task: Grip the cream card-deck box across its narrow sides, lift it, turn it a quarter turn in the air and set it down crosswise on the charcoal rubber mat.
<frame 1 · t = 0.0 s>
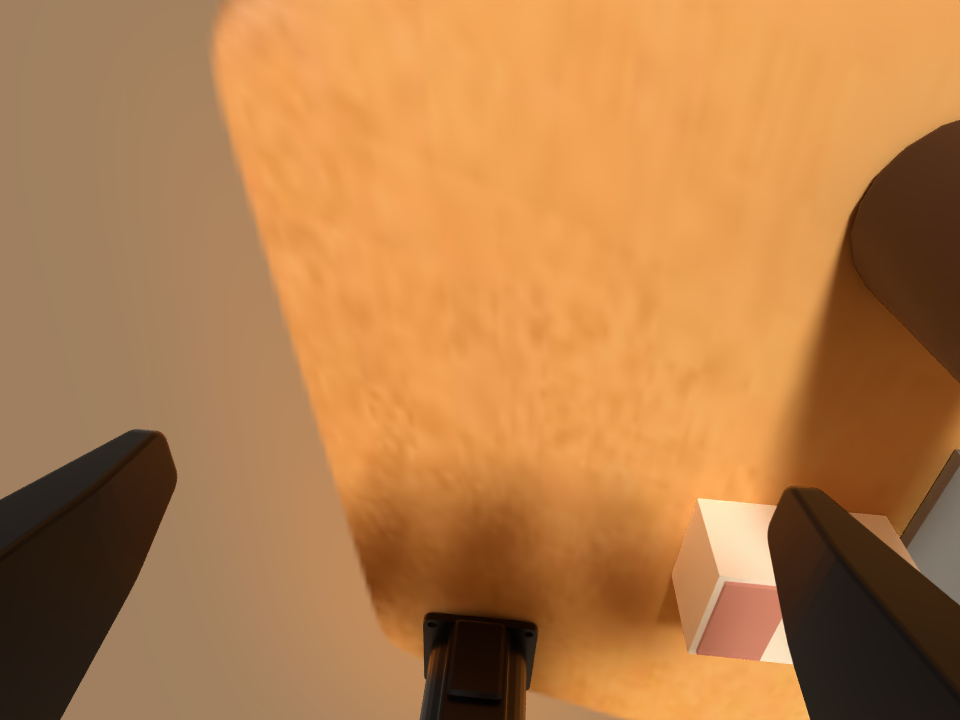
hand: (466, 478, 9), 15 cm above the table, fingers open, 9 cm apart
bottle: (952, 212, 21), on the table
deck: (771, 543, 30), on the table
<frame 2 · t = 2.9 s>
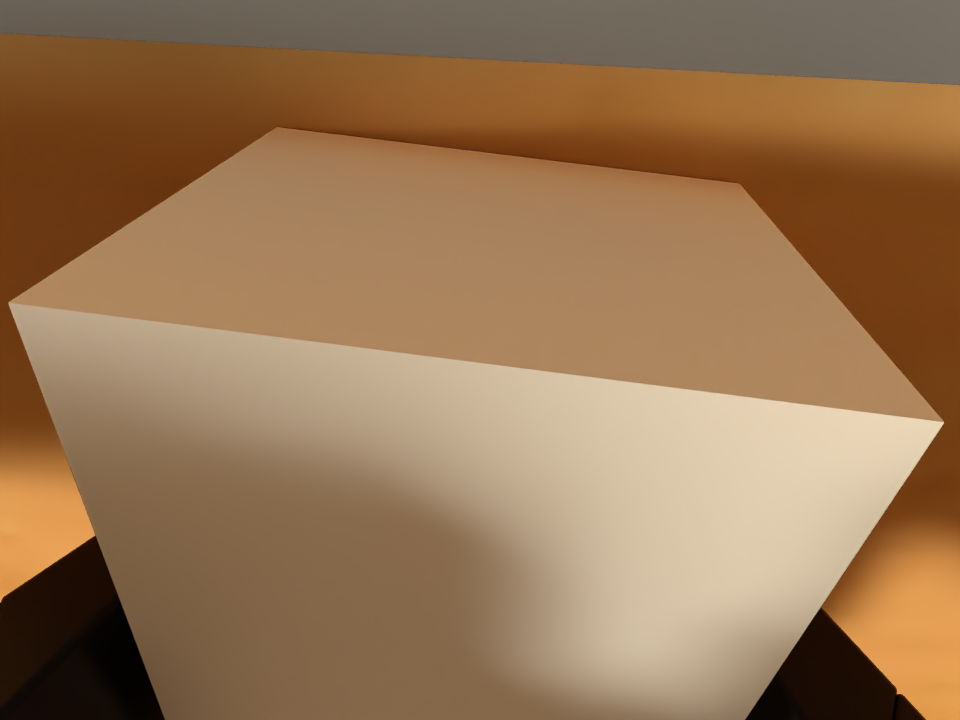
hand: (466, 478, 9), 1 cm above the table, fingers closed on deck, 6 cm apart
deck: (474, 428, 10), on the table, touching gripper
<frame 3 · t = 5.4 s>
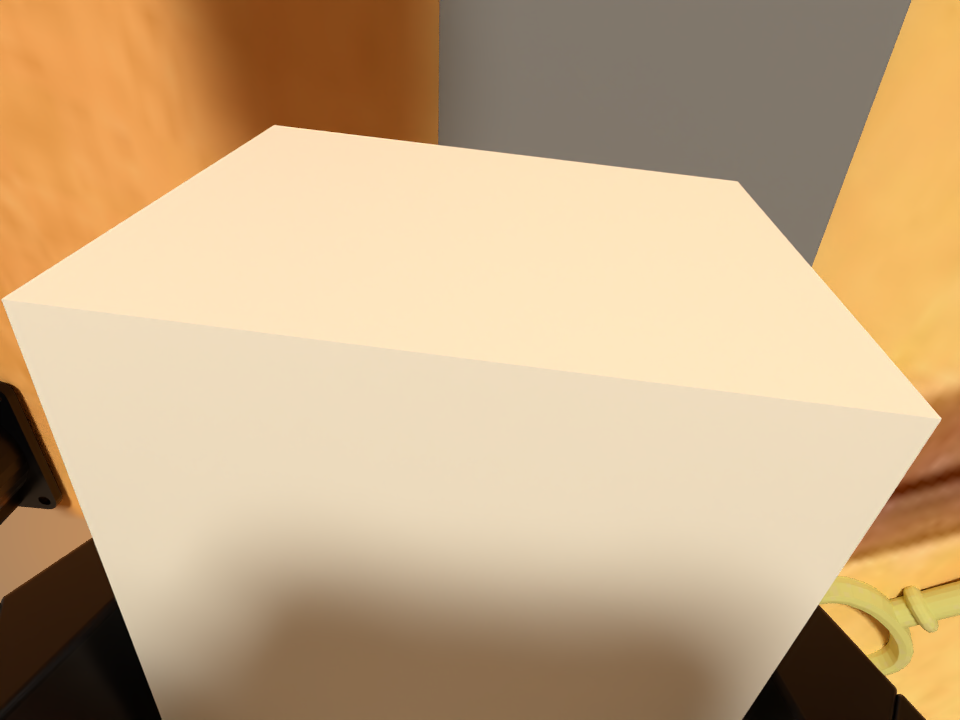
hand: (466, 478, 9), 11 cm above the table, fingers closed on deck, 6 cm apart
key: (904, 583, 27), on the table
mat: (623, 225, 18), on the table
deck: (472, 427, 10), point 10 cm above the table, touching gripper
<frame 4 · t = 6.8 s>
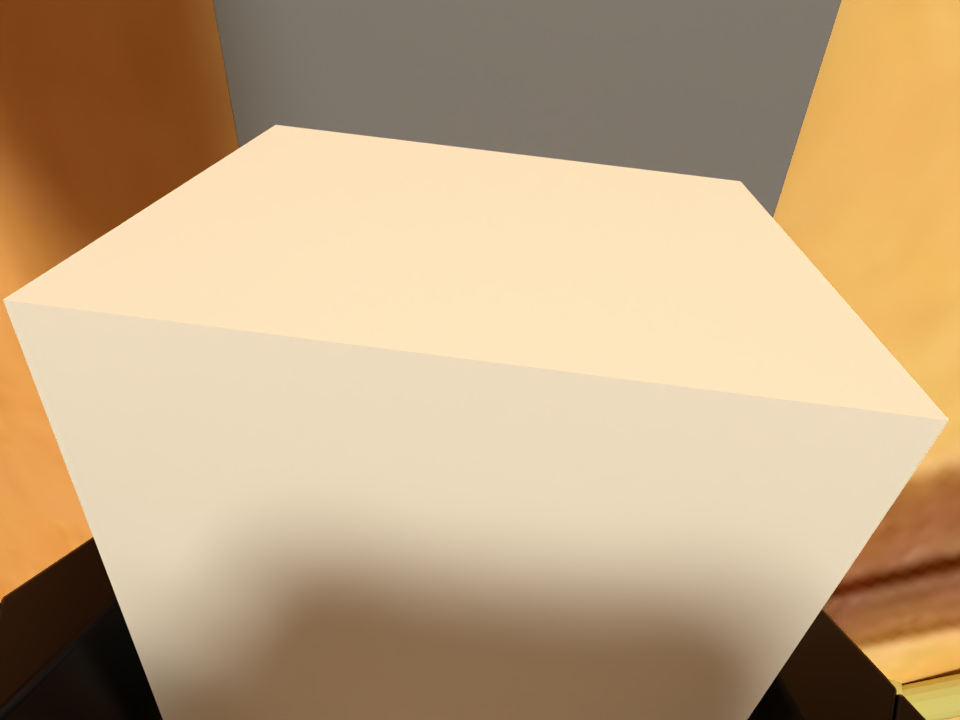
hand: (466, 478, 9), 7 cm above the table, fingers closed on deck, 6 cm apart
key: (884, 672, 23), on the table
mat: (499, 277, 14), on the table
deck: (474, 427, 10), point 6 cm above the table, touching gripper
when the fingers open (3 cm above the table, at t = 8.1 s): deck drops 1 cm, resting on mat.
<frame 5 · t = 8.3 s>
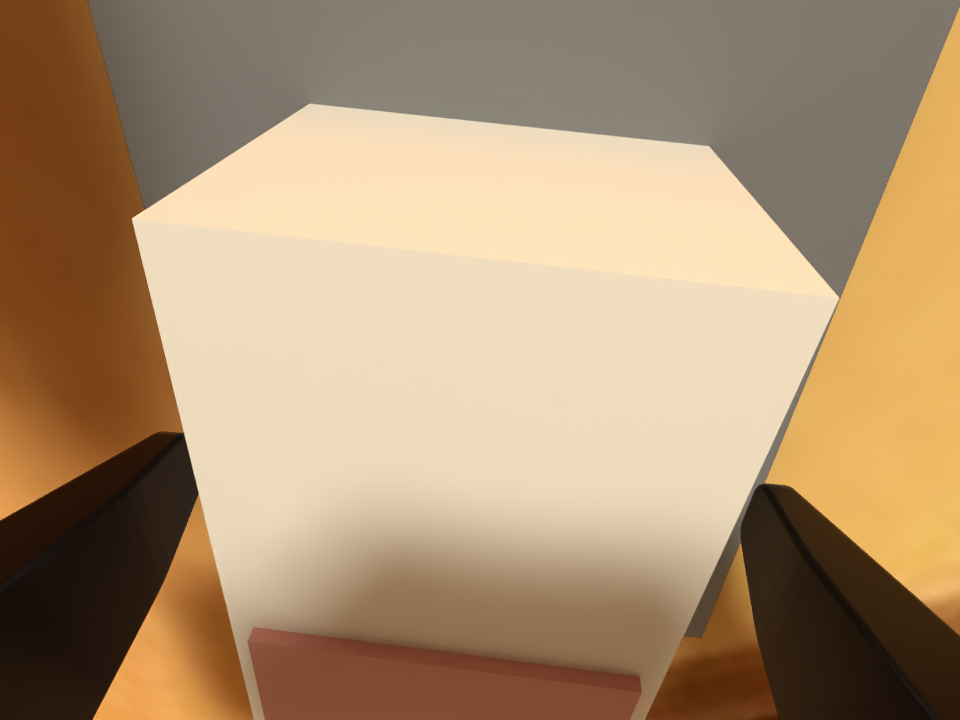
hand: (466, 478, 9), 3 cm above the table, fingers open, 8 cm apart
mat: (485, 361, 12), on the table
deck: (481, 375, 11), point 1 cm above the table, touching mat
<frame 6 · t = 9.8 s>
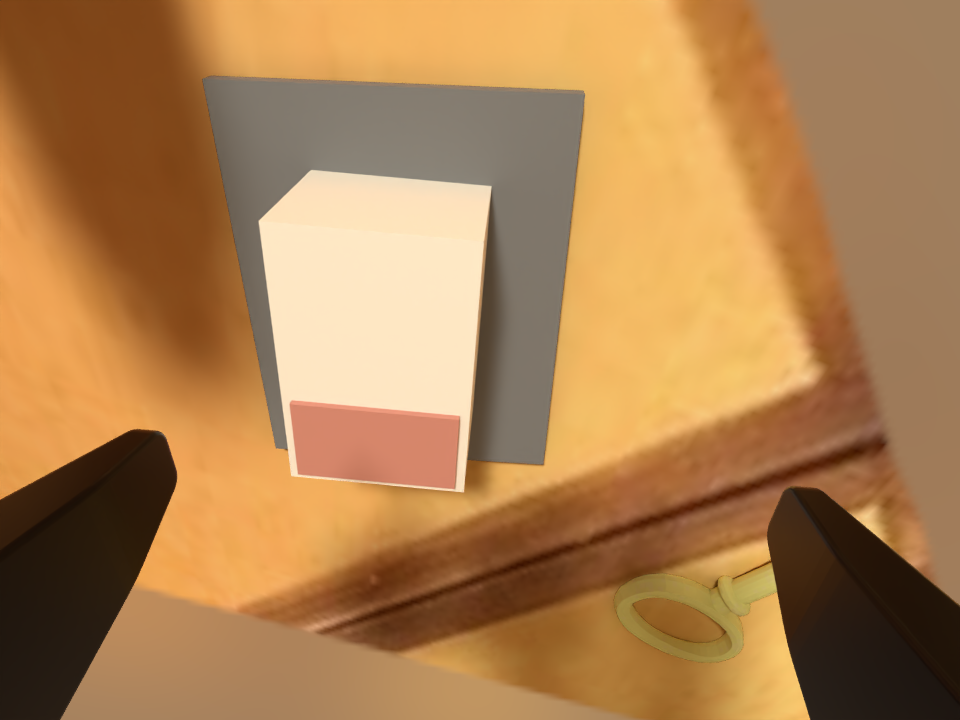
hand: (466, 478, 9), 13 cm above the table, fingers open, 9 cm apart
key: (725, 573, 30), on the table
mat: (404, 296, 22), on the table
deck: (400, 301, 21), point 1 cm above the table, touching mat
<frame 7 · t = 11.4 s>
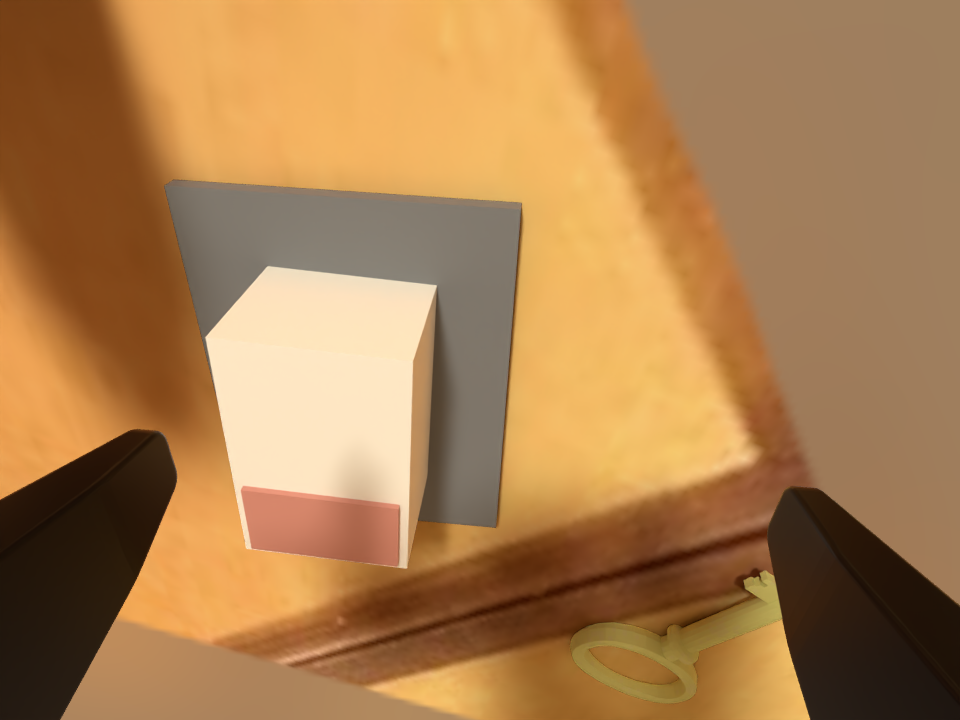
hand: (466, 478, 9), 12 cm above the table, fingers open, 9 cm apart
key: (676, 620, 31), on the table
mat: (360, 374, 23), on the table
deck: (355, 381, 22), point 1 cm above the table, touching mat
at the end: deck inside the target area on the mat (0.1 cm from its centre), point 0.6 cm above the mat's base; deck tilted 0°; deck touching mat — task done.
